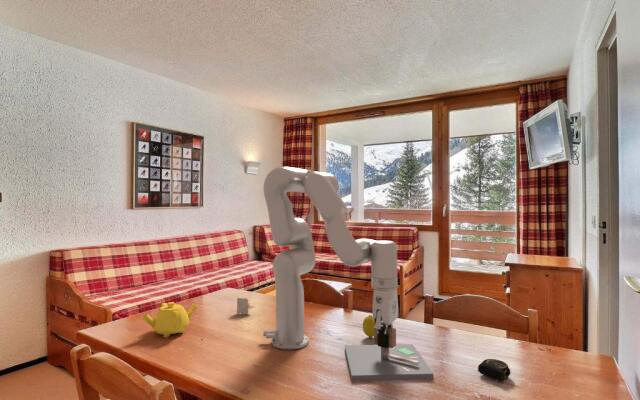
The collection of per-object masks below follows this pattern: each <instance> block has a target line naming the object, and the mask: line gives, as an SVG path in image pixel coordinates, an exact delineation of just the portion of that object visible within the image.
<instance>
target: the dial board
mask: <svg viewBox="0 0 640 400" xmlns="http://www.w3.org/2000/svg"><path fill="white" fill-rule="evenodd" d="M344 352H345V357H346V361H347V365H348V370H349V373H350V374H349V375H350V378H351V382H360V381H361V382H363V381H364V382H368V381H369V382H371V381H372V382H373V381H375V382H376V381H409V380H410V381H411V380H412V381H414V380H419V381H420V380H434V377H435V376H434V372H433V371H432V370H431V368H430V366H429V365H428V364H427V362H426V361H425V360H424V358H423V357H422V356H421V354H420V353H419V351H418V349H416V347H415V345H414V344H413V343H407V344H405V343H404V344H403V343H401V344H397V343H396V346H395V347H394V348H389V354H392V355H396V356H400V357H404V358H408V359H412V360H416V361H419V364H418V365H414V364H410V363H406V362H403V361H399V360H395V359H391V358H389V359H383V358H381V347H379V346H378V345H376V344H364V345H363V344H357V345H356V344H355V345H344Z"/></svg>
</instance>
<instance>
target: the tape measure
mask: <svg viewBox="0 0 640 400" xmlns="http://www.w3.org/2000/svg"><path fill="white" fill-rule="evenodd" d="M477 371H478V373H480V374H481V375H483V376H486V377H488V378H491V379H492V380H496V381H498V382H500V383H503V382H504V381H505V380H508V379H509V377H510V375H511V369H510V367H509V365H508V363H506V361H505V362H504V361H502V360H500V359H496V358H488V359H484V360H483V361H482V362H481V363H479V365H478V366H477Z"/></svg>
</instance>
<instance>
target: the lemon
mask: <svg viewBox="0 0 640 400" xmlns="http://www.w3.org/2000/svg"><path fill="white" fill-rule="evenodd" d="M375 326H376V323H374V322H373V314H372V315H371V314H369V315H367V316H366V317H365V318H364V319H363V321H362V331H363V333H364V334H365V335H366V336H367V337H368V338H369V339H372V338H374V327H375Z"/></svg>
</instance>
